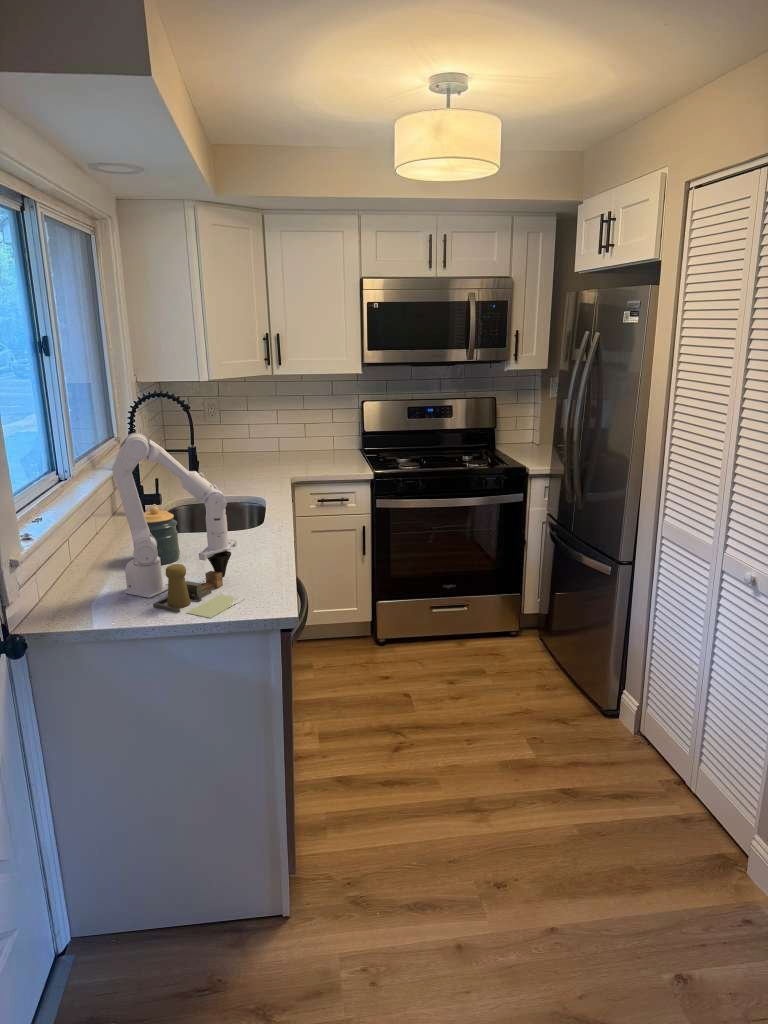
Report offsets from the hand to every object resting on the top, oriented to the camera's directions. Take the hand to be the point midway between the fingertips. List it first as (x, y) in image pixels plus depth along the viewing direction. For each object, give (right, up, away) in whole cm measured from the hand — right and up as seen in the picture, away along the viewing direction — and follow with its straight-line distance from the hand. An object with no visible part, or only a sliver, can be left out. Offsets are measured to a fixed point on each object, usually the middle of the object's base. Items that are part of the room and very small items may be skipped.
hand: (220, 576), depth 196 cm
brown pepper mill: (-7, -6, -15) cm, 18 cm away
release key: (-2, -3, -5) cm, 6 cm away
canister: (-25, +3, +22) cm, 33 cm away
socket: (-7, -5, -12) cm, 15 cm away
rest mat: (+3, -6, -17) cm, 18 cm away
